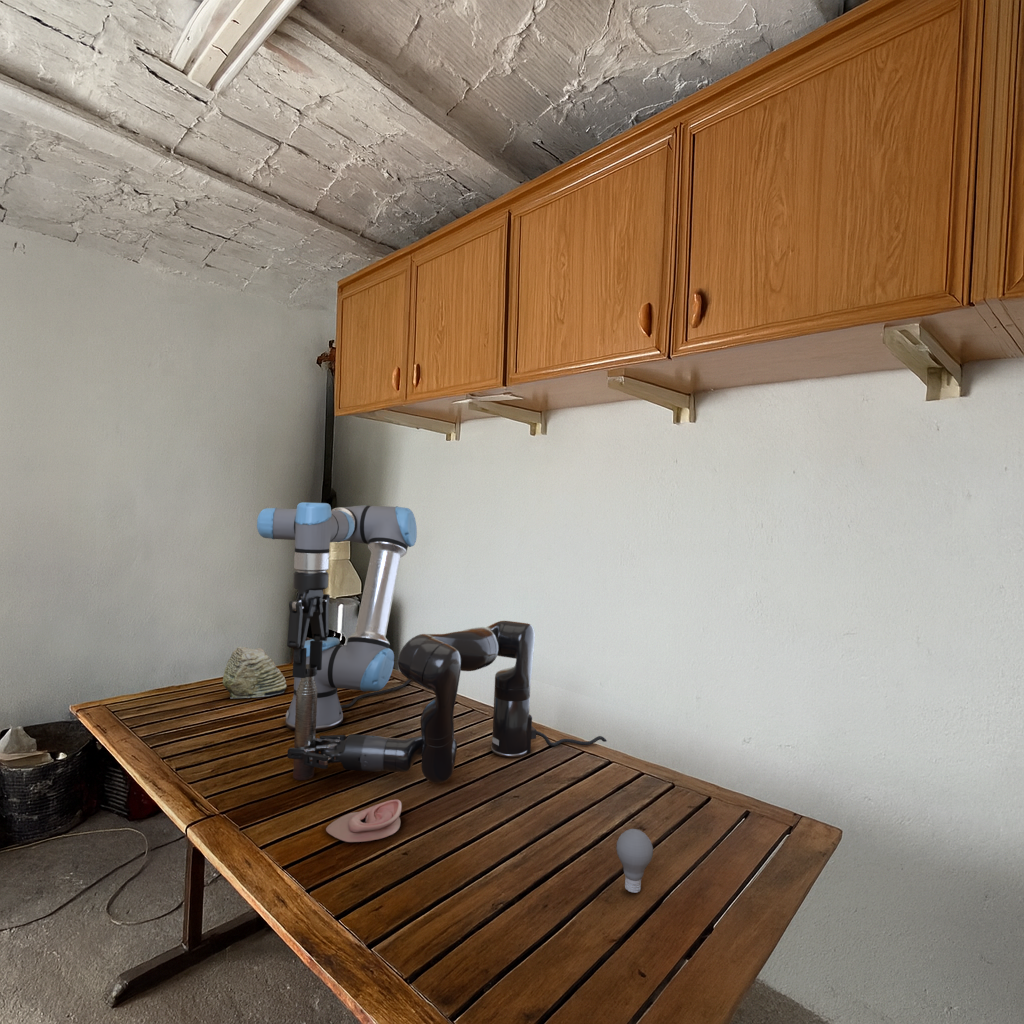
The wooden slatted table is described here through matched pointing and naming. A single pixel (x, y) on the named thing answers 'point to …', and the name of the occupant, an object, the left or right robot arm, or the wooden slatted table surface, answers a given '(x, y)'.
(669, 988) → the wooden slatted table surface
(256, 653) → the fossil
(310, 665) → the cap
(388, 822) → the anatomical model
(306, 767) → the bottle
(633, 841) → the light bulb
